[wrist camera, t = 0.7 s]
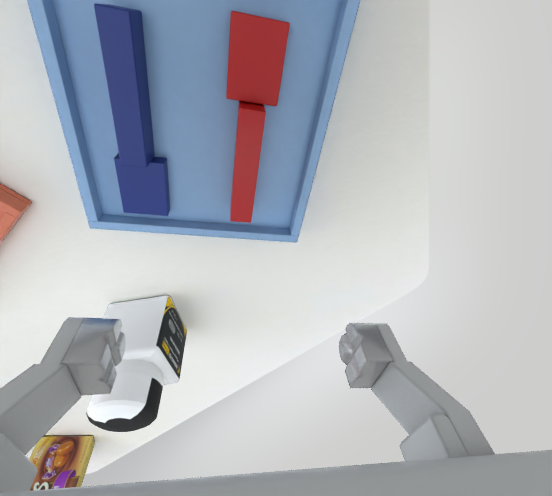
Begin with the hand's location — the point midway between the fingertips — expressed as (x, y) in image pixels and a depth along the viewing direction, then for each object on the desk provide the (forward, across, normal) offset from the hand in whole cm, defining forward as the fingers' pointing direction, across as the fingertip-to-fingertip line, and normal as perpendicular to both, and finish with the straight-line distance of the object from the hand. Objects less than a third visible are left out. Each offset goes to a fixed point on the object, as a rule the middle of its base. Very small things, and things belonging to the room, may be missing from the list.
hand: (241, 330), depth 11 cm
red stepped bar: (+17, -1, -2) cm, 17 cm away
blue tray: (+17, +3, -2) cm, 18 cm away
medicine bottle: (+18, +9, +22) cm, 29 cm away
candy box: (+18, +27, +59) cm, 67 cm away
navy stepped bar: (+17, +8, -2) cm, 19 cm away
